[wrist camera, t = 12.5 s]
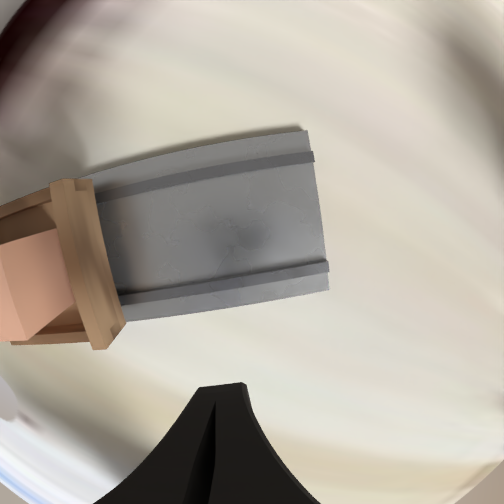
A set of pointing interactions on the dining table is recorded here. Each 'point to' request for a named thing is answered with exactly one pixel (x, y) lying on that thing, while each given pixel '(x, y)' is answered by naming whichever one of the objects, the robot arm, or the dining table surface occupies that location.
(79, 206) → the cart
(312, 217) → the rail
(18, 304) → the block
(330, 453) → the dining table surface
